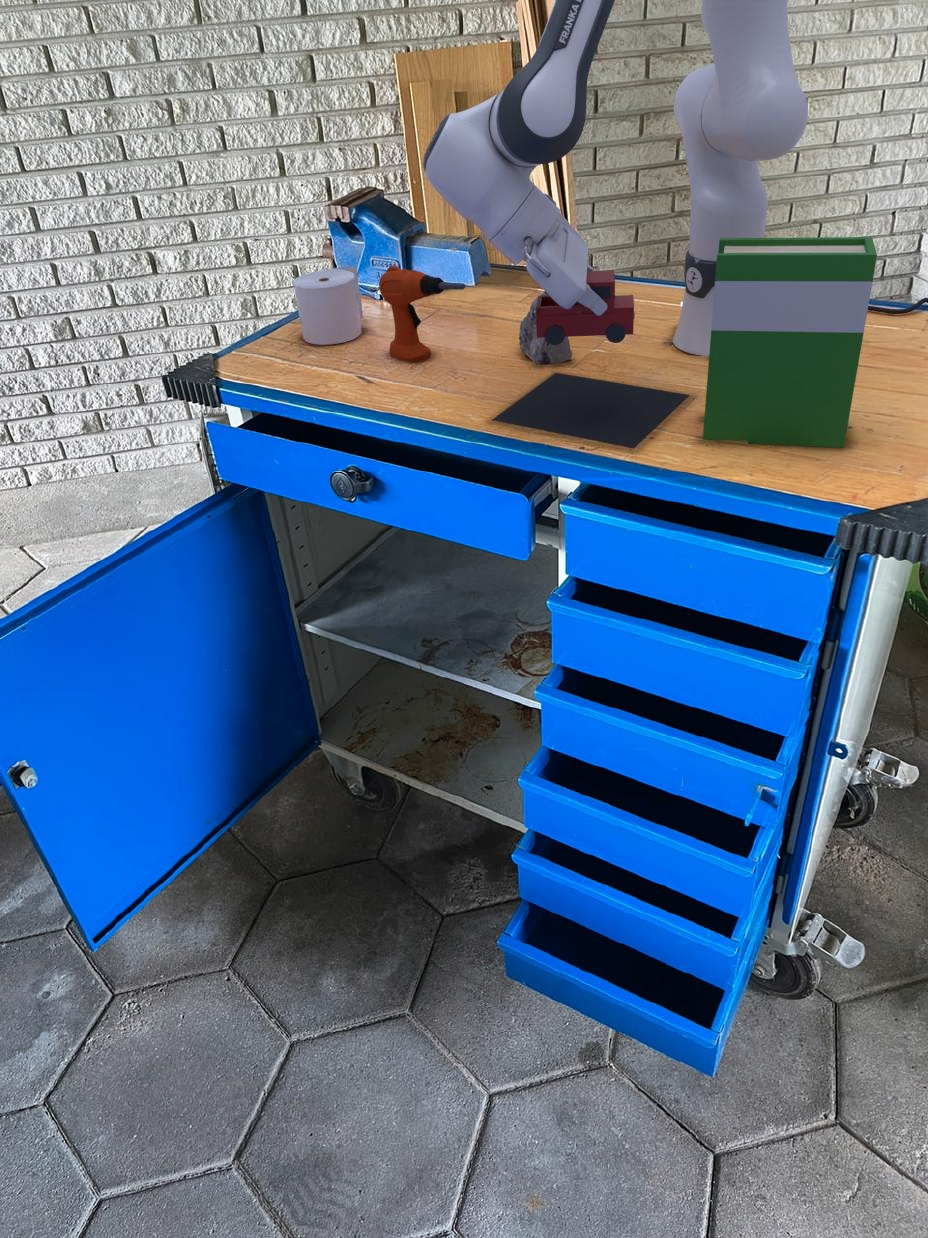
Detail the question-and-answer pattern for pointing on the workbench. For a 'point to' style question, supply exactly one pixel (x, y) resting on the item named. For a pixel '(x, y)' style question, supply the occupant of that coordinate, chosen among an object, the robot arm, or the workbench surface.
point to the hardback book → (787, 338)
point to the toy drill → (409, 308)
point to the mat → (593, 409)
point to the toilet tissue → (329, 305)
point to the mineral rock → (541, 342)
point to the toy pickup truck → (587, 314)
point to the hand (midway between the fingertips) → (604, 301)
